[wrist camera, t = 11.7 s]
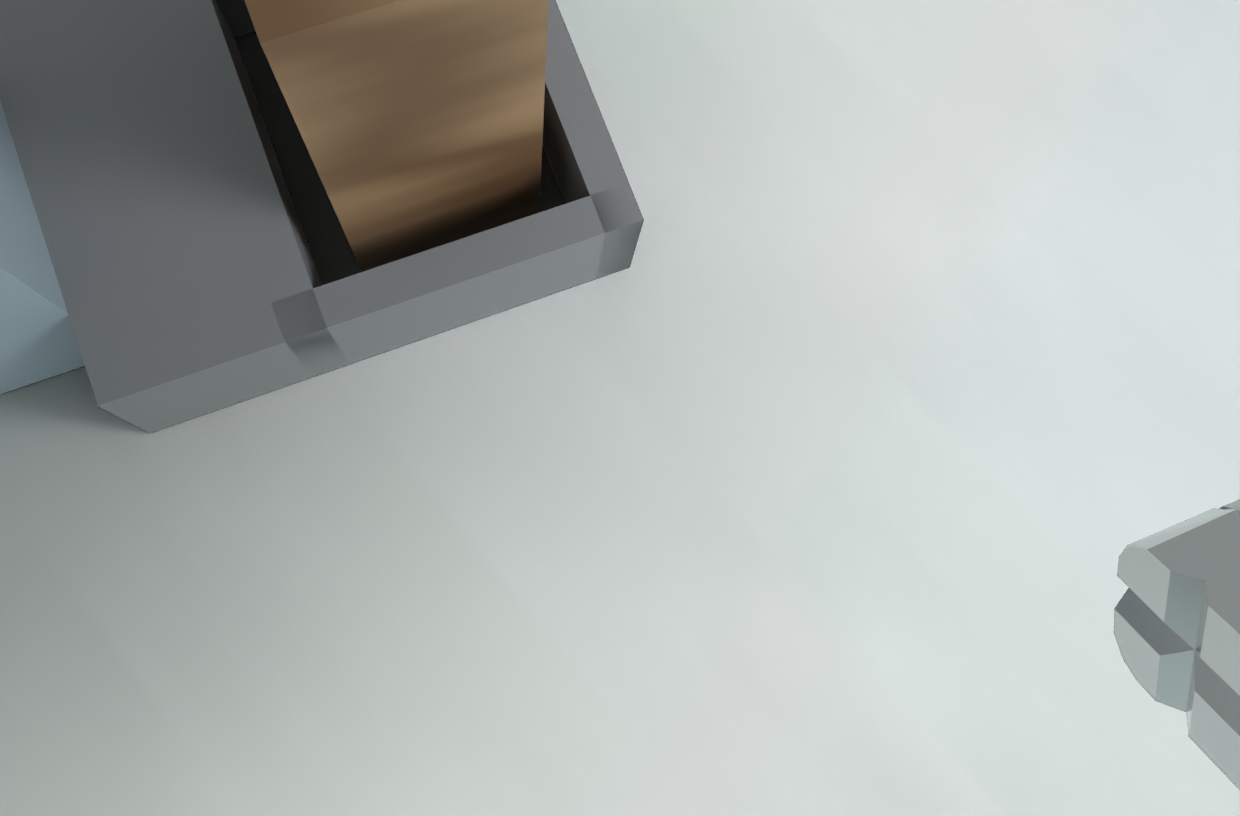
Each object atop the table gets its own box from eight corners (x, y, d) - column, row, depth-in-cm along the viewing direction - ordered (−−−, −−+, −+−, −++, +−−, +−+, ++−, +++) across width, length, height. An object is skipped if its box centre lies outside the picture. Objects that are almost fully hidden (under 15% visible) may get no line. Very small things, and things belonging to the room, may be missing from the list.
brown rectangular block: (453, -5, 26) (412, -383, 16) (539, 214, 25) (550, -46, 16) (280, 48, 26) (131, -312, 16) (363, 274, 25) (259, 42, 15)
